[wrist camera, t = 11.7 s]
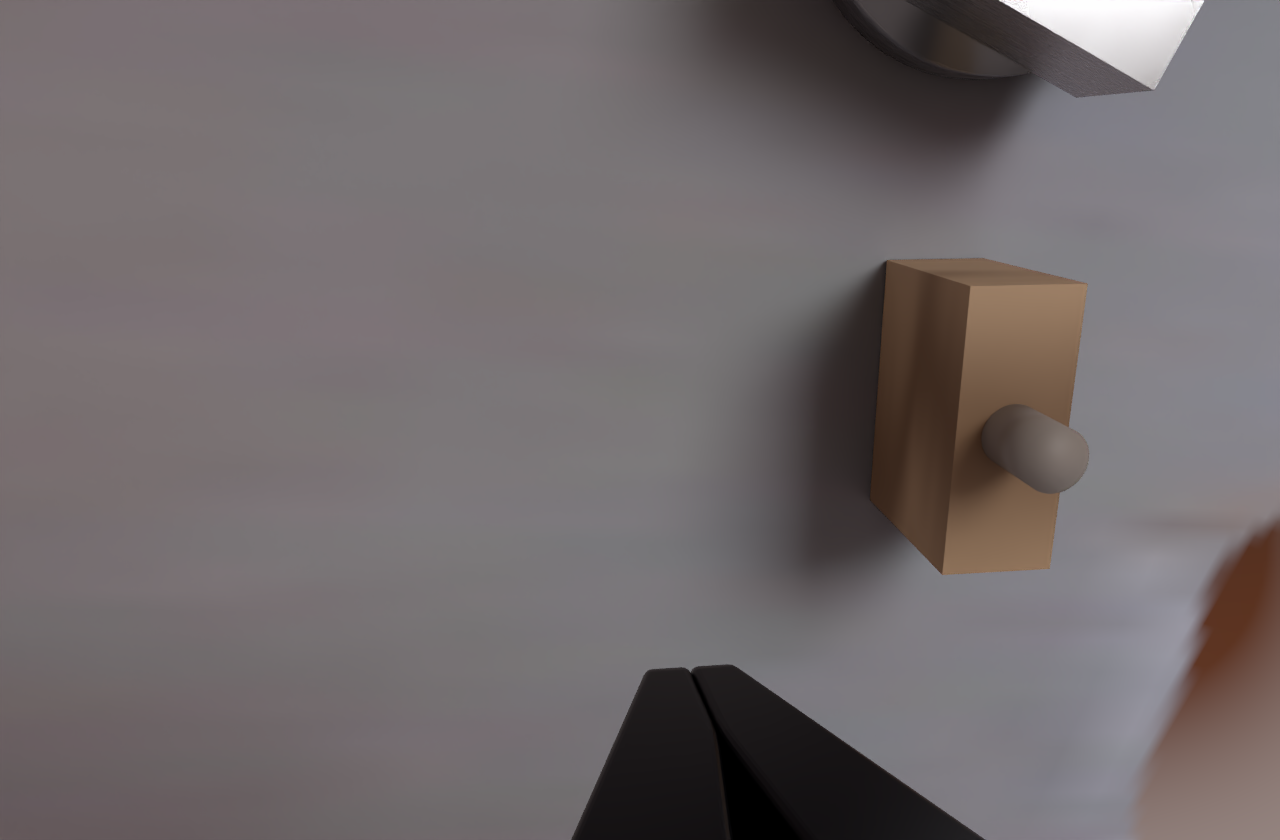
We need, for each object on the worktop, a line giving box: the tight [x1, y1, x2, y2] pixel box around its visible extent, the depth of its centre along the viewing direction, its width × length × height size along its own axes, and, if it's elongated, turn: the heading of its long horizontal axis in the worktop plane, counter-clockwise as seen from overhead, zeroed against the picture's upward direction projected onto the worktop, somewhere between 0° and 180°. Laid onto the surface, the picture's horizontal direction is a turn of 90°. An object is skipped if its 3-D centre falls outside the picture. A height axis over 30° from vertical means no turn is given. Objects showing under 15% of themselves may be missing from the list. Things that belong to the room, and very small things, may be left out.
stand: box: [870, 258, 1089, 575], centre depth 18 cm, size 6×2×6 cm, turn 0°
